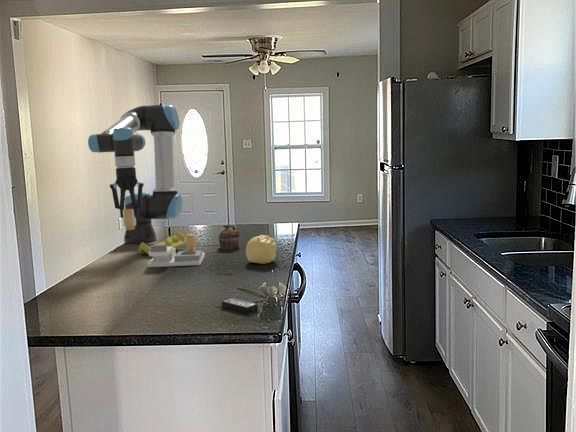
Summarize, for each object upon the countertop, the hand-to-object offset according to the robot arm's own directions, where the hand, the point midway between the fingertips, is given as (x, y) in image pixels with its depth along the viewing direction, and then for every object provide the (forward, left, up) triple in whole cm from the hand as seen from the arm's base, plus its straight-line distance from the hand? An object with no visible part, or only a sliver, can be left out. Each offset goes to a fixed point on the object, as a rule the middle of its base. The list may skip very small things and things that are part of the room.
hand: (130, 225), depth 225 cm
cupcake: (-20, +38, -15) cm, 45 cm away
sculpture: (+12, +53, -15) cm, 56 cm away
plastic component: (-15, +10, -15) cm, 23 cm away
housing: (+4, +19, -15) cm, 24 cm away
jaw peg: (0, 0, -2) cm, 2 cm away
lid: (+9, +14, -10) cm, 19 cm away
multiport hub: (+70, +47, -15) cm, 86 cm away
